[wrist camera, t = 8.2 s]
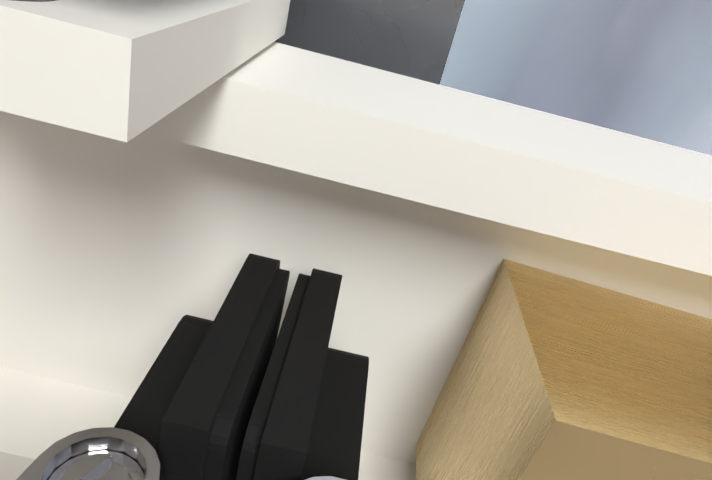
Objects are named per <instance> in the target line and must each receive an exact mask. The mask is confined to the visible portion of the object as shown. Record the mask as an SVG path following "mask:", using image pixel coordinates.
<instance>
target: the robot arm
mask: <svg viewBox="0 0 712 480" xmlns="http://www.w3.org/2000/svg"><path fill="white" fill-rule="evenodd" d="M289 275H290V271H288V270H284V269H280V260H276V259H272V258H268V257H264V256H260V255H255V254H251V253H250V254H249V255H248V257H247V258H246V260H245V262H244V264H243V266H242V268H241V270H240V272H239V274H238V276H237V277H236V279H235V281H234V283H233V285H232V287H231V289H230V291H229V293H228V295H227V297H226V298H225V300H224V302H223V304H222V306H221V308H220V310H219V312H218V314H217V316H216V317H215V319H214V321H212V320H208V319H203V318H199V317H195V316H191V315H185V316H183V317H182V319H181V320H180V321H179V323H178V324H177V326H176V328H175V329H174V331H173V333H172V334H171V336H170V337H169V339H168V341H167V342H166V344H165V345H164V347H163V349H162V350H161V352H160V354H159V355H158V357H157V358H156V360H155V362H154V363H153V365H152V366H151V368H150V370H149V371H148V373H147V375H146V376H145V378H144V379H143V381H142V383H141V384H140V386H139V388H138V389H137V391H136V392H135V394H134V396H133V397H132V399H131V400H130V402H129V404H128V405H127V407H126V409H125V410H124V412H123V413H122V415H121V417H120V418H119V420H118V421H117V423H116V425H115V426H114V427H104V428H91V429H87V430H83V431H79V432H75V433H73V434H71V435H69V436H67V437H65V438H62V439H60V440H58V441H56V442H55V443H54V444H53V445H51V446H50V447H49V448H48V449H46V450H45V451H44V452H43V453H41V454H40V455H39V456H38V457H37V458H36V459H35V460H34V462H33V463H32V464H31V465H30V466H29V467H28V468H27V469H26V470H25V471H24V472H23V473H22V474H21V475H20V476H19V477H18V478H17V479H16V480H358V475H359V465H360V454H361V443H362V433H363V422H364V411H365V401H366V390H367V379H368V369H369V357H367V356H363V355H359V354H354V353H350V352H346V351H341V350H337V349H333V348H328V345H329V340H330V335H331V330H332V325H333V320H334V315H335V310H336V305H337V300H338V295H339V291H340V286H341V281H342V275H340V274H336V273H331V272H327V271H323V270H319V269H315V268H313V270H312V273H311V276H309V275H305V274H301V273H299V275H298V278H297V281H296V284H295V287H294V290H293V293H292V296H291V299H290V302H289V305H288V308H287V311H286V314H285V317H284V319H283V322H282V325H281V328H280V331H279V326H280V321H281V316H282V311H283V306H284V301H285V296H286V291H287V286H288V281H289ZM278 331H279V334H278ZM277 336H278V337H277Z"/></svg>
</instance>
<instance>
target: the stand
mask: <svg viewBox="0 0 712 480" xmlns="http://www.w3.org/2000/svg"><path fill="white" fill-rule="evenodd" d="M464 1H465V0H290V6H289V12H288V18H287V24H286V29H285V34H284V35H283V36H282V37H280V38H279V39H277V40H276V41H274V42H277V43H281V44H285V45H289V46H293V47H297V48H300V49H304V50H308V51H312V52H316V53H320V54H323V55H327V56H331V57H335V58H339V59H343V60H346V61H350V62H354V63H358V64H362V65H366V66H369V67H373V68H377V69H381V70H385V71H389V72H393V73H396V74H400V75H404V76H408V77H412V78H416V79H419V80H423V81H427V82H431V83H435V84H440V80H441V77H442V74H443V70H444V67H445V64H446V61H447V57H448V54H449V51H450V47H451V44H452V41H453V38H454V34H455V31H456V28H457V24H458V21H459V18H460V14H461V11H462V8H463V5H464Z"/></svg>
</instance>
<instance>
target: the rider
mask: <svg viewBox="0 0 712 480" xmlns="http://www.w3.org/2000/svg"><path fill="white" fill-rule="evenodd" d="M415 452H416V480H712V319H709V318H705V317H702V316H698V315H695V314H692V313H688V312H685V311H681V310H678V309H674V308H671V307H668V306H664V305H661V304H657V303H654V302H651V301H647V300H644V299H640V298H637V297H633V296H630V295H627V294H623V293H620V292H616V291H613V290H610V289H606V288H603V287H599V286H596V285H592V284H589V283H586V282H582V281H579V280H575V279H572V278H569V277H565V276H562V275H558V274H555V273H551V272H548V271H545V270H541V269H538V268H534V267H531V266H528V265H524V264H521V263H517V262H514V261H510V260H507V259H503V261H502V263H501V265H500V268H499V270H498V272H497V274H496V276H495V278H494V280H493V282H492V285H491V287H490V289H489V291H488V293H487V295H486V297H485V299H484V301H483V304H482V306H481V308H480V310H479V312H478V314H477V316H476V318H475V321H474V323H473V325H472V327H471V329H470V331H469V333H468V335H467V337H466V340H465V342H464V344H463V346H462V348H461V350H460V352H459V354H458V357H457V359H456V361H455V363H454V365H453V367H452V369H451V371H450V373H449V376H448V378H447V380H446V382H445V384H444V386H443V388H442V390H441V393H440V395H439V397H438V399H437V401H436V403H435V405H434V407H433V409H432V412H431V414H430V416H429V418H428V420H427V422H426V424H425V426H424V429H423V431H422V433H421V435H420V437H419V439H418V441H417V443H416V445H415Z"/></svg>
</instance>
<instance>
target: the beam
mask: <svg viewBox="0 0 712 480" xmlns="http://www.w3.org/2000/svg"><path fill="white" fill-rule="evenodd" d="M289 6H290V0H0V480H16V479H17V478H18V477H19V476H20V475H21V474H22V473H23V472H24V471H25V470H26V469H27V468H28V467H29V466H30V465H31V464H32V463H33V462H34V460H35V459H36V458H37V457H38V456H39V455H40V454H41V453H43V452H44V451H45V450H46V449H48V448H49V447H50V446H51V445H53V444H54V443H55V442H56V441H58V440H60V439H62V438H65V437H67V436H69V435H71V434H73V433H75V432H79V431H83V430H87V429H91V428H104V427H114V426H115V425H116V423H117V421H118V420H119V418H120V417H121V415H122V413H123V412H124V410H125V409H126V407H127V405H128V404H129V402H130V400H131V399H132V397H133V396H134V394H135V392H136V391H137V389H138V388H139V386H140V384H141V383H142V381H143V379H144V378H145V376H146V375H147V373H148V371H149V370H150V368H151V366H152V365H153V363H154V362H155V360H156V358H157V357H158V355H159V354H160V352H161V350H162V349H163V347H164V345H165V344H166V342H167V341H168V339H169V337H170V336H171V334H172V333H173V331H174V329H175V328H176V326H177V324H178V323H179V321H180V320H181V319H182V317H183V316H185V315H191V316H195V317H199V318H203V319H208V320H212V321H214V319H215V317H216V316H217V314H218V312H219V310H220V308H221V306H222V304H223V302H224V300H225V298H226V297H227V295H228V293H229V291H230V289H231V287H232V285H233V283H234V281H235V279H236V277H237V276H238V274H239V272H240V270H241V268H242V266H243V264H244V262H245V260H246V258H247V257H248V255H249V254H250V253H251V254H255V255H260V256H264V257H268V258H272V259H276V260H280V269H284V270H288V271H290V275H289V281H288V286H287V291H286V296H285V301H284V306H283V311H282V316H281V321H280V326H279V331H280V328H281V325H282V322H283V319H284V317H285V314H286V311H287V308H288V305H289V302H290V299H291V296H292V293H293V290H294V287H295V284H296V281H297V278H298V275H299V273H301V274H305V275H309V276H311V273H312V270H313V268H315V269H319V270H323V271H327V272H331V273H336V274H340V275H342V281H341V286H340V291H339V295H338V300H337V305H336V310H335V315H334V320H333V325H332V330H331V335H330V340H329V345H328V348H333V349H337V350H341V351H346V352H350V353H354V354H359V355H363V356H367V357H369V369H368V379H367V390H366V401H365V411H364V422H363V433H362V443H361V454H360V465H359V475H358V480H416V452H415V445H416V443H417V441H418V439H419V437H420V435H421V433H422V431H423V429H424V426H425V424H426V422H427V420H428V418H429V416H430V414H431V412H432V409H433V407H434V405H435V403H436V401H437V399H438V397H439V395H440V393H441V390H442V388H443V386H444V384H445V382H446V380H447V378H448V376H449V373H450V371H451V369H452V367H453V365H454V363H455V361H456V359H457V357H458V354H459V352H460V350H461V348H462V346H463V344H464V342H465V340H466V337H467V335H468V333H469V331H470V329H471V327H472V325H473V323H474V321H475V318H476V316H477V314H478V312H479V310H480V308H481V306H482V304H483V301H484V299H485V297H486V295H487V293H488V291H489V289H490V287H491V285H492V282H493V280H494V278H495V276H496V274H497V272H498V270H499V268H500V265H501V263H502V261H503V259H507V260H510V261H514V262H517V263H521V264H524V265H528V266H531V267H534V268H538V269H541V270H545V271H548V272H551V273H555V274H558V275H562V276H565V277H569V278H572V279H575V280H579V281H582V282H586V283H589V284H592V285H596V286H599V287H603V288H606V289H610V290H613V291H616V292H620V293H623V294H627V295H630V296H633V297H637V298H640V299H644V300H647V301H651V302H654V303H657V304H661V305H664V306H668V307H671V308H674V309H678V310H681V311H685V312H688V313H692V314H695V315H698V316H702V317H705V318H709V319H712V156H711V155H707V154H703V153H700V152H696V151H692V150H688V149H684V148H680V147H677V146H673V145H669V144H665V143H661V142H657V141H654V140H650V139H646V138H642V137H638V136H634V135H631V134H627V133H623V132H619V131H615V130H611V129H608V128H604V127H600V126H596V125H592V124H588V123H584V122H581V121H577V120H573V119H569V118H565V117H561V116H558V115H554V114H550V113H546V112H542V111H538V110H535V109H531V108H527V107H523V106H519V105H515V104H512V103H508V102H504V101H500V100H496V99H492V98H488V97H485V96H481V95H477V94H473V93H469V92H465V91H462V90H458V89H454V88H450V87H446V86H442V85H439V84H435V83H431V82H427V81H423V80H419V79H416V78H412V77H408V76H404V75H400V74H396V73H393V72H389V71H385V70H381V69H377V68H373V67H369V66H366V65H362V64H358V63H354V62H350V61H346V60H343V59H339V58H335V57H331V56H327V55H323V54H320V53H316V52H312V51H308V50H304V49H300V48H297V47H293V46H289V45H285V44H281V43H277V42H274V41H276V40H277V39H279V38H280V37H282V36H283V35H284V34H285V29H286V24H287V18H288V12H289ZM279 331H278V334H279ZM277 337H278V336H277Z"/></svg>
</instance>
